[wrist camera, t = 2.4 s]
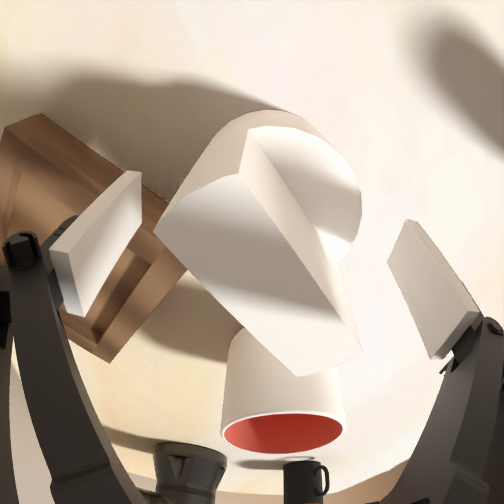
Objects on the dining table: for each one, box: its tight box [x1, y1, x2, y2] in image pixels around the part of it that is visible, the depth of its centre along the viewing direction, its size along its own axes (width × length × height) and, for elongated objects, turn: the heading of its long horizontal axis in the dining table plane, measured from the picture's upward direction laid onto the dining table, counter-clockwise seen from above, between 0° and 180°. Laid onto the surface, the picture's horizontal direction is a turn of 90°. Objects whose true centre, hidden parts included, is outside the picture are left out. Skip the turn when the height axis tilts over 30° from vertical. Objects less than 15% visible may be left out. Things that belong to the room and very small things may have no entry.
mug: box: [283, 461, 329, 504], centre depth 49 cm, size 8×12×10 cm
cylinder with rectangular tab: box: [153, 110, 362, 377], centre depth 15 cm, size 9×9×12 cm
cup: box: [220, 327, 346, 454], centre depth 25 cm, size 10×10×10 cm
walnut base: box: [0, 113, 188, 364], centre depth 21 cm, size 16×16×4 cm
